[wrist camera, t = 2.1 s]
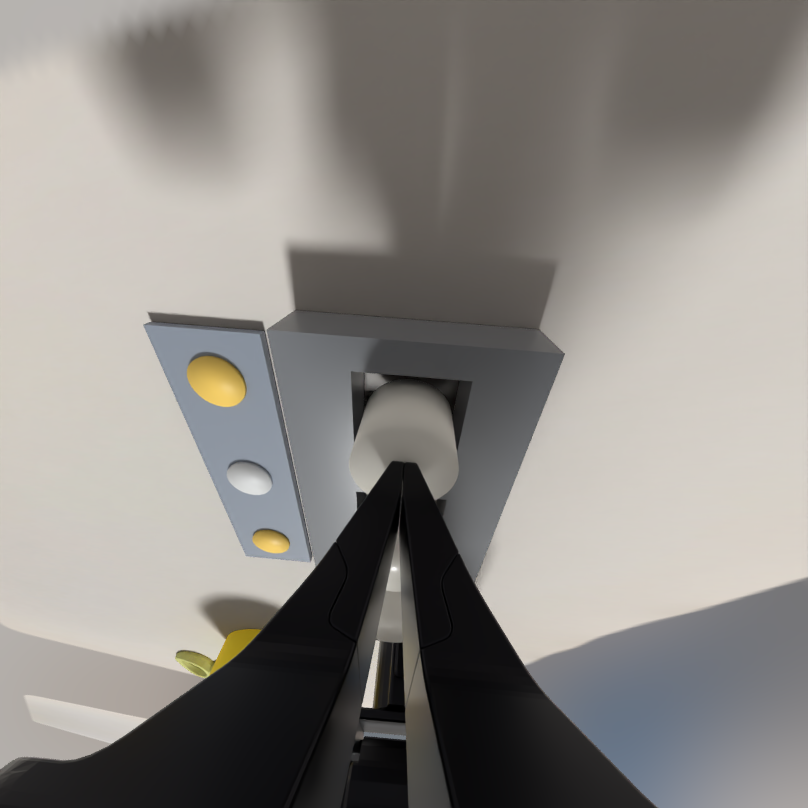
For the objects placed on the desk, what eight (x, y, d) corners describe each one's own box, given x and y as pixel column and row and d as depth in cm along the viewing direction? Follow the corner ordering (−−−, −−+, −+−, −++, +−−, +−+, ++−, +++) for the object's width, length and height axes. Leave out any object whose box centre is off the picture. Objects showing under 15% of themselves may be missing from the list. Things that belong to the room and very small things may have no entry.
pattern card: (312, 557, 22) (309, 565, 22) (248, 551, 22) (244, 558, 22) (264, 331, 12) (257, 335, 12) (150, 321, 12) (139, 326, 12)
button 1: (445, 453, 13) (450, 509, 10) (365, 446, 13) (351, 501, 10) (458, 383, 11) (468, 432, 8) (364, 375, 11) (346, 421, 8)
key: (274, 666, 39) (267, 688, 37) (198, 665, 41) (188, 685, 40) (247, 646, 35) (238, 669, 34) (166, 646, 38) (153, 668, 36)
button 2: (419, 591, 20) (418, 645, 17) (367, 586, 20) (359, 639, 17) (424, 564, 18) (424, 620, 15) (367, 558, 18) (358, 613, 15)
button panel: (458, 577, 22) (461, 614, 20) (332, 565, 23) (322, 601, 20) (539, 329, 12) (565, 353, 9) (295, 310, 12) (266, 330, 10)
